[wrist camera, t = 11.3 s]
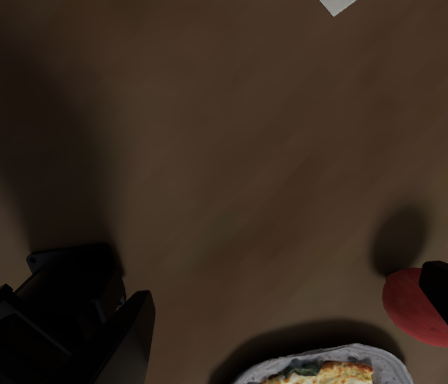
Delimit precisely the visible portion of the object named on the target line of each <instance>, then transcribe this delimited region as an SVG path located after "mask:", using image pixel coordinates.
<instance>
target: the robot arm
mask: <svg viewBox="0 0 448 384" xmlns="http://www.w3.org/2000/svg"><path fill="white" fill-rule="evenodd" d="M101 248H104V249H105V250H102V249H101ZM34 258H35V259H36V260H35V259H34ZM26 261H27V263H28V265H29V268H30V270H31V272H32V275H31V276H30V277H29V278H28V279H27V280H26V281H25V282H24V283H23V284H22V285H21V286H20V287H19V288H18V289H16V290H15V291H14V292H12V290H13V289H12V288H11V287H10V286H9V285H7V284H4V285H2V286H1V287H0V384H144V381H145V377H146V373H147V368H148V362H149V356H150V349H151V342H152V335H153V329H154V322H155V306H154V302H153V298H152V294H151V292H150V291H149V290H142V291H137V292H135V293H134V294H133V295H132V296H131V297H130V298H129V299H128V300H127V301H126V297H125V294H124V291H125V287H124V284H123V280H122V277H121V274H120V271H119V267H118V266H117V265H116V264H115V261H114V258H113V255H112V252H111V248H110V246H109V245H108V244H107V243H96V244H89V245H82V246H75V247H68V248H60V249H53V250H46V251H39V252H33V253H31V254H30V255H29V256H27V258H26ZM419 287H420V289H421V290H422V292H423V293H424V294H425V296H426V297H427V298H428V300H429V301H430V302H431V304H432V305H433V307H434V308H435V309H436V311H437V312H438V313H439V315H440V316H441V317H442V319H443V320H444V321H445V323H446V324H447V325H448V263H445V262H442V261H428V262H425V263H424V264H423V266H422V269H421V273H420V277H419ZM120 301H121V302H120ZM117 308H119V309H118V310H117V311H116V309H117ZM115 311H116V312H115Z"/></svg>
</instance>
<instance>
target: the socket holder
mask: <svg viewBox="0 0 448 384" xmlns="http://www.w3.org/2000/svg"><path fill="white" fill-rule="evenodd" d="M320 1H321V2H322V4H323V5H324V6H325V7H326V8H327V10H328V11H329V12H330V13H331V14H332V15H333V17H334V16H335V15H337V14H338V13H340V12H341V11H342V10H344V9H345V8H346V7H348V6H349V5H350V4H352V3H353V2H354V1H356V0H320Z"/></svg>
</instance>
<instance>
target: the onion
mask: <svg viewBox="0 0 448 384" xmlns="http://www.w3.org/2000/svg"><path fill="white" fill-rule="evenodd" d="M421 269H422V268H406V269H403V270H400V271H397V272H394V273H391V274H389V275H388V276H387V278H386V283H385V285H384V288H383V295H382V301H383V305H384V308H385V310H386V312H387V314H388V316H389V317H390V318H391V320H392V321H393V322H394V324H395V325H396V326H397V327H399V328H400V329H401V330H402V331H404V332H405V333H407V334H409V335H410V336H412V337H414V338H415V339H417V340H419V341H421V342H423V343H426V344H429V345H433V346H439V347H448V325H447V324H446V323H445V321H444V320H443V319H442V317H441V316H440V315H439V313H438V312H437V311H436V309H435V308H434V307H433V305H432V304H431V302H430V301H429V300H428V298H427V297H426V296H425V294H424V293H423V292H422V290H421V289H420V287H419V277H420V273H421Z"/></svg>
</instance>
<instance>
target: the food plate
mask: <svg viewBox="0 0 448 384" xmlns="http://www.w3.org/2000/svg"><path fill="white" fill-rule="evenodd" d="M270 360H271V361H270ZM406 369H407V368H406V366H404V364H403V363H402V362H401V361H400V359H398V358H397V357H395V355H392V354H391V353H390V352H389V353H388V352H387V351H385V350H382V349H379V348H376V347H375V348H374V347H371V346H368V345H362V344H359V343H353V344H349V345H344V346H343V345H342V346H338V347H334V348H332V347H331V348H327V349H322V348H320V349H318V350H316V349H314V350H311V351H307V352H303V353H300V354H294V355H293V354H292V355H289V356H287V357H279V358H277V359H273V358H272V359H269V360H267V361H264V362H263V363H262V362H261V363H259V364H256V365H253V366H251V367H250V368H248V369H245V370H244V371H242V372H241V373H240V374H238V375H237V377H235V378H234V379H233V381H232V382H230V384H414V383H413V379H412V377H411V375H410V374H409V372H408V371H407V370H406Z"/></svg>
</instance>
